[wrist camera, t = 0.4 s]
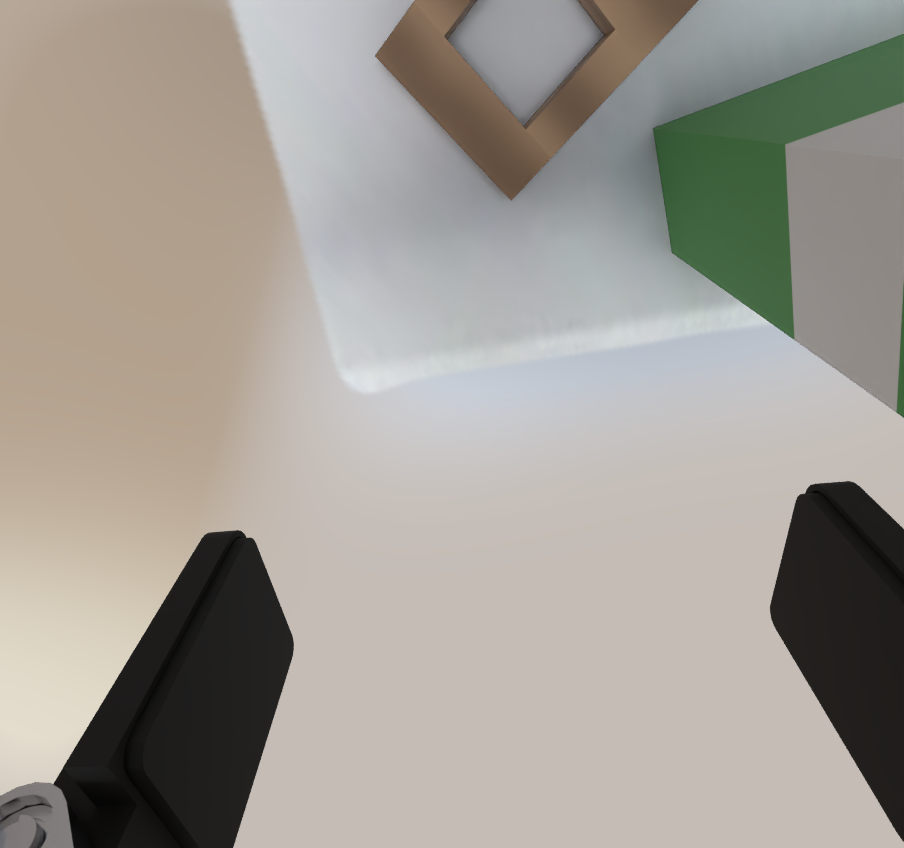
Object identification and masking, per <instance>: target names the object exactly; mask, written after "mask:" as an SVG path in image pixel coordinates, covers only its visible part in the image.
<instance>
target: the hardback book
mask: <svg viewBox="0 0 904 848" xmlns="http://www.w3.org/2000/svg"><path fill="white" fill-rule="evenodd" d="M653 132H654V138H655V145H656V151H657V158H658V164H659V171H660V177H661V184H662V191H663V197H664V204H665V210H666V217H667V223H668V230H669V236H670V243H671V250H672V253H673V254H675V255H676V256H677V257H679V258H680V259H682V260H683V261H684V262H686V263H687V264H689V265H690V266H691V267H693V268H694V269H696V270H697V271H698V272H700V273H701V274H703V275H704V276H705V277H707V278H708V279H710V280H711V281H712V282H714V283H715V284H717V285H718V286H719V287H721V288H722V289H724V290H725V291H727V292H728V293H729V294H731V295H732V296H734V297H735V298H736V299H738V300H739V301H741V302H742V303H743V304H745V305H746V306H748V307H749V308H750V309H752V310H753V311H755V312H756V313H757V314H759V315H760V316H762V317H763V318H764V319H766V320H767V321H769V322H770V323H771V324H773V325H774V326H776V327H777V328H779V329H780V330H781V331H783V332H784V333H786V334H787V335H788V336H790V337H791V338H793V339H794V340H795V341H797V342H798V343H800V344H801V345H802V346H804V347H805V348H807V349H808V350H809V351H811V352H812V353H814V354H815V355H817V356H818V357H819V358H821V359H822V360H824V361H825V362H826V363H828V364H829V365H831V366H832V367H833V368H835V369H836V370H838V371H839V372H840V373H842V374H843V375H845V376H846V377H847V378H849V379H850V380H852V381H853V382H854V383H856V384H857V385H859V386H860V387H862V388H863V389H864V390H866V391H867V392H868V393H870V394H871V395H873V396H874V397H875V398H877V399H878V400H880V401H881V402H883V403H884V404H885V405H887V406H888V407H890V408H891V409H892V410H894V411H895V412H897V413H898V414H900V415H901V416H902V417H904V34H902V35H900V36H897V37H894V38H892V39H889V40H886V41H884V42H881V43H878V44H876V45H873V46H870V47H868V48H865V49H862V50H860V51H857V52H854V53H852V54H849V55H846V56H844V57H841V58H838V59H836V60H833V61H830V62H828V63H825V64H822V65H820V66H817V67H814V68H812V69H809V70H806V71H804V72H801V73H798V74H796V75H793V76H791V77H788V78H785V79H783V80H780V81H777V82H775V83H772V84H769V85H767V86H764V87H761V88H759V89H756V90H753V91H751V92H748V93H745V94H743V95H740V96H737V97H735V98H732V99H729V100H727V101H724V102H721V103H719V104H716V105H713V106H711V107H708V108H705V109H703V110H700V111H697V112H695V113H692V114H689V115H687V116H684V117H681V118H679V119H676V120H673V121H671V122H668V123H665V124H663V125H660V126H657V127H655V128H653Z"/></svg>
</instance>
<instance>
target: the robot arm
mask: <svg viewBox="0 0 904 848" xmlns="http://www.w3.org/2000/svg"><path fill="white" fill-rule="evenodd" d="M770 613H771V618H772V621H773V624H774V626H775V628H776V630H777V632H778V634H779V635H780V637H781V639H782V640H783V641H784V644H785V645H786V647H787V648H788V650H789V652H790V654H791V655H792V657H793V659H794V660H795V662H796V664H797V665H798V667H799V669H800V670H801V672H802V674H803V676H804V677H805V679H806V681H807V682H808V684H809V686H810V687H811V689H812V691H813V692H814V694H815V696H816V697H817V699H818V701H819V702H820V704H821V706H822V707H823V709H824V711H825V712H826V714H827V716H828V718H829V719H830V721H831V723H832V724H833V726H834V728H835V729H836V731H837V733H838V734H839V736H840V738H841V739H842V741H843V743H844V744H845V746H846V748H847V749H848V751H849V753H850V754H851V756H852V758H853V760H854V761H855V763H856V765H857V766H858V768H859V770H860V771H861V773H862V775H863V776H864V778H865V780H866V781H867V783H868V785H869V786H870V788H871V790H872V792H873V793H874V795H875V796H876V798H877V799H878V802H879V803H880V805H881V807H882V808H883V810H884V812H885V813H886V815H887V817H888V818H889V820H890V822H891V823H892V825H893V827H894V828H895V830H896V832H897V833H898V835H899V836H900V838H901V839H902V840H903V841H904V529H903V528H902V527H901V526H900V525H899V524H898V523H897V522H896V521H895V520H894V519H893V518H892V517H891V516H890V515H889V514H887V512H885V511H884V510H883V509H882V508H881V507H880V506H879V505H878V504H877V503H876V502H875V501H874V500H873V499H872V498H871V497H870V496H869V495H868V494H867V493H865V491H864V490H863V489H862V488H861V487H860V486H858V485H857V484H855V483H854V482H850V481H847V482H833V483H821V484H814V485H810V486H809V487H808V489H807V491H806V493H805V494H800V495H799V496H798V497H797V500H796V503H795V507H794V511H793V515H792V519H791V523H790V527H789V531H788V535H787V539H786V543H785V548H784V551H783V556H782V560H781V564H780V568H779V572H778V577H777V580H776V584H775V588H774V592H773V596H772V600H771V605H770ZM293 647H294V643H293V637H292V634H291V631H290V629H289V626H288V624H287V621H286V619H285V616H284V613H283V611H282V608H281V606H280V603H279V601H278V598H277V596H276V593H275V591H274V588H273V585H272V583H271V580H270V578H269V576H268V573H267V570H266V568H265V565H264V563H263V560H262V558H261V555H260V552H259V550H258V547H257V545H256V543H255V541H254V539H252V538H246V536H245V534H244V533H243V532H242V531H238V530H237V531H224V532H212V533H207V534H206V535H204V537H203V538H202V539H201V541H200V543H199V544H198V546H197V547H196V549H195V551H194V552H193V554H192V556H191V557H190V559H189V561H188V562H187V564H186V566H185V568H184V569H183V571H182V572H181V574H180V575H179V577H178V579H177V581H176V582H175V584H174V585H173V587H172V589H171V590H170V592H169V594H168V595H167V597H166V599H165V600H164V602H163V604H162V605H161V607H160V609H159V610H158V612H157V613H156V615H155V617H154V618H153V620H152V622H151V623H150V625H149V627H148V628H147V630H146V632H145V633H144V635H143V636H142V638H141V640H140V641H139V643H138V645H137V646H136V648H135V650H134V651H133V653H132V655H131V656H130V658H129V660H128V661H127V663H126V665H125V666H124V668H123V670H122V671H121V673H120V674H119V676H118V678H117V680H116V681H115V683H114V685H113V686H112V688H111V689H110V691H109V693H108V694H107V696H106V698H105V699H104V701H103V703H102V704H101V706H100V708H99V709H98V711H97V712H96V714H95V716H94V717H93V719H92V721H91V722H90V724H89V726H88V727H87V729H86V731H85V732H84V734H83V736H82V737H81V739H80V741H79V742H78V744H77V746H76V747H75V749H74V751H73V752H72V754H71V755H70V757H69V759H68V760H67V762H66V764H65V765H64V767H63V769H62V771H61V772H60V774H59V776H58V777H57V779H56V781H55V782H54V784H51V783H39V782H35V783H32V784H27V785H24V786H20V787H17V788H15V789H13V790H11V791H9V792H7V793H5V794H3V795H1V796H0V848H233V846H234V843H235V840H236V837H237V833H238V830H239V827H240V824H241V820H242V817H243V814H244V811H245V808H246V804H247V801H248V798H249V794H250V792H251V788H252V785H253V782H254V779H255V776H256V772H257V769H258V766H259V763H260V760H261V756H262V753H263V750H264V747H265V743H266V740H267V737H268V734H269V730H270V727H271V724H272V721H273V718H274V715H275V711H276V708H277V705H278V701H279V699H280V695H281V692H282V689H283V685H284V683H285V679H286V676H287V673H288V670H289V666H290V663H291V660H292V656H293V650H294V648H293Z"/></svg>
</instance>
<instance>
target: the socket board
mask: <svg viewBox="0 0 904 848" xmlns="http://www.w3.org/2000/svg"><path fill="white" fill-rule="evenodd" d="M476 1H477V0H415V1H414V2H413V4H412V5H411V7H410V8H409V9H408V11H407V12H406V14H405V15H404V16H403V18H402V19H401V20H400V22H399V23H398V25H397V26H396V27H395V29H394V30H393V32H392V33H391V34H390V36H389V37H388V38H387V40H386V41H385V43H384V44H383V45H382V47H381V48H380V50H379V51H378V52H377V54H376V55H375V56H376V58H377V59H378V60H379V61H380V62H381V63H382V64H383V65H384V66H385V67H386V68H387V69H388V70H389V71H390V72H391V73H392V75H393V76H394V77H395V78H396V79H397V80H398V81H399V82H400V83H401V84H402V85H403V86H404V87H405V88H406V89H407V90H408V92H409V93H410V94H411V95H412V96H413V97H414V98H415V99H416V100H417V101H418V102H419V103H420V104H421V105H422V106H423V107H424V109H425V110H426V111H427V112H428V113H429V114H430V115H431V116H432V117H433V118H434V119H435V120H436V121H437V122H438V123H439V124H440V125H441V127H442V128H443V129H444V130H445V131H446V132H447V133H448V134H449V135H450V136H451V137H452V138H453V139H454V140H455V141H456V142H457V144H458V145H459V146H460V147H461V148H462V149H463V150H464V151H465V152H466V153H467V154H468V155H469V156H470V157H471V158H472V159H473V161H474V162H475V163H476V164H477V165H478V166H479V167H480V168H481V169H482V170H483V171H484V172H485V173H486V174H487V175H488V176H489V177H490V179H491V180H492V181H493V182H494V183H495V184H496V185H497V186H498V187H499V188H500V189H501V190H502V191H503V192H504V193H505V194H506V196H507V197H508V198H509V199H510V200H512V199H513V198H514V197H515V196H516V195H517V194H518V193H519V192H520V191H521V190H522V189H523V188H524V186H525V185H526V184H527V183H528V182H529V181H530V180H531V179H532V178H533V177H534V176H535V175H536V174H537V173H538V171H539V170H540V169H541V168H542V167H543V166H544V165H545V164H546V163H547V162H548V161H549V160H550V159H551V158H552V156H553V155H554V154H555V153H556V152H557V151H558V150H559V149H560V148H561V147H562V146H563V145H564V144H565V143H566V142H567V140H568V139H569V138H570V137H571V136H572V135H573V134H574V133H575V132H576V131H577V130H578V129H579V128H580V127H581V125H582V124H583V123H584V122H585V121H586V120H587V119H588V118H589V117H590V116H591V115H592V114H593V113H594V112H595V110H596V109H597V108H598V107H599V106H600V105H601V104H602V103H603V102H604V101H605V100H606V99H607V98H608V97H609V95H610V94H611V93H612V92H613V91H614V90H615V89H616V88H617V87H618V86H619V85H620V84H621V83H622V82H623V81H624V79H625V78H626V77H627V76H628V75H629V74H630V73H631V72H632V71H633V70H634V69H635V68H636V67H637V66H638V64H639V63H640V62H641V61H642V60H643V59H644V58H645V57H646V56H647V55H648V54H649V53H650V52H651V51H652V49H653V48H654V47H655V46H656V45H657V44H658V43H659V42H660V41H661V40H662V39H663V38H664V37H665V36H666V34H667V33H668V32H669V31H670V30H671V29H672V28H673V27H674V26H675V25H676V24H677V23H678V22H679V21H680V20H681V18H682V17H683V16H684V15H685V14H686V13H687V12H688V11H689V10H690V9H691V8H692V7H693V6H694V5H695V3H696V2H697V1H698V0H578V1H579V3H580V4H581V5H582V6H583V8H584V9H585V10H586V12H587V13H588V14H589V16H590V17H591V18H592V20H593V21H594V22H595V24H596V25H597V26H598V27H599V29H600V30H601V31H602V33H603V34H604V36H603V37H602V38H601V39H600V40H599V42H598V43H597V44H596V45H595V46H594V47H593V48H592V49H591V51H590V52H589V53H588V54H587V55H586V56H585V57H584V58H583V60H582V61H581V62H580V63H579V64H578V65H577V66H576V67H575V69H574V70H573V71H572V72H571V73H570V74H569V75H568V77H567V78H566V79H565V80H564V81H563V82H562V83H561V84H560V86H559V87H558V88H557V89H556V90H555V91H554V92H553V93H552V95H551V96H550V97H549V98H548V99H547V100H546V101H545V102H544V104H543V105H542V106H541V107H540V108H539V109H538V110H537V111H536V113H535V114H534V115H533V116H532V117H531V118H530V119H529V120H528V122H527V123H526V124H525V125H524V126H522V124H521V123H520V122H519V121H518V120H517V119H516V118H515V116H514V115H513V114H512V113H511V112H510V111H509V110H508V109H507V107H506V106H505V105H504V104H503V103H502V102H501V101H500V99H499V98H498V97H497V96H496V95H495V94H494V93H493V91H492V90H491V89H490V88H489V87H488V86H487V85H486V83H485V82H484V81H483V80H482V79H481V78H480V77H479V76H478V74H477V73H476V72H475V71H474V70H473V69H472V68H471V66H470V65H469V64H468V63H467V62H466V61H465V60H464V58H463V57H462V56H461V55H460V54H459V53H458V52H457V50H456V49H455V48H454V47H453V46H452V45H451V44H450V42H449V41H448V40H447V39H448V37H449V36H450V35H451V33H452V32H453V31H454V29H455V28H456V27H457V26H458V24H459V23H460V22H461V20H462V19H463V18H464V16H465V15H466V14H467V13H468V11H469V10H470V9H471V7H472V6H473V5H474V3H475V2H476Z"/></svg>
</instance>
